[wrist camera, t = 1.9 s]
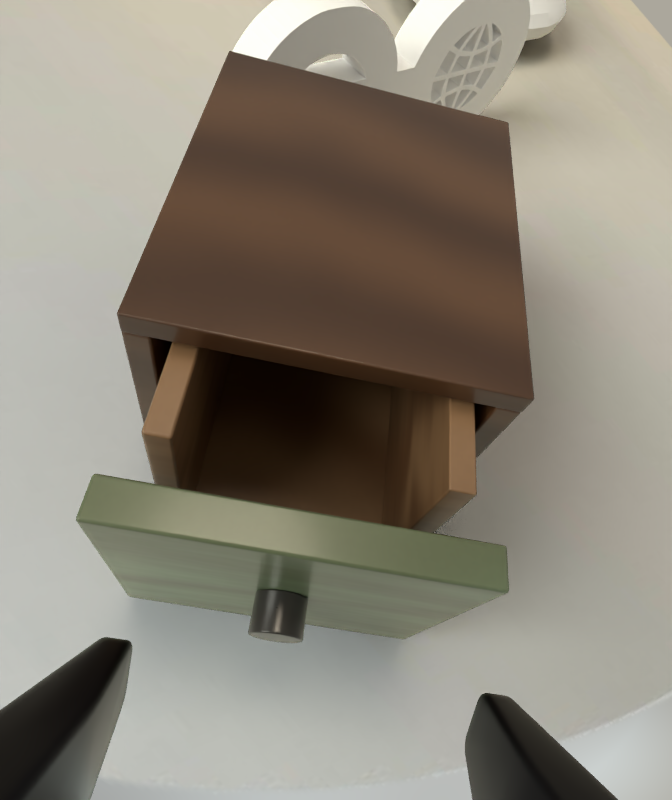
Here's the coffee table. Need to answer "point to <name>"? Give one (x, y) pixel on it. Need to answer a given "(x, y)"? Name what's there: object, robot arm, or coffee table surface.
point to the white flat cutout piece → (398, 46)
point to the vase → (543, 16)
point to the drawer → (297, 501)
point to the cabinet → (340, 243)
